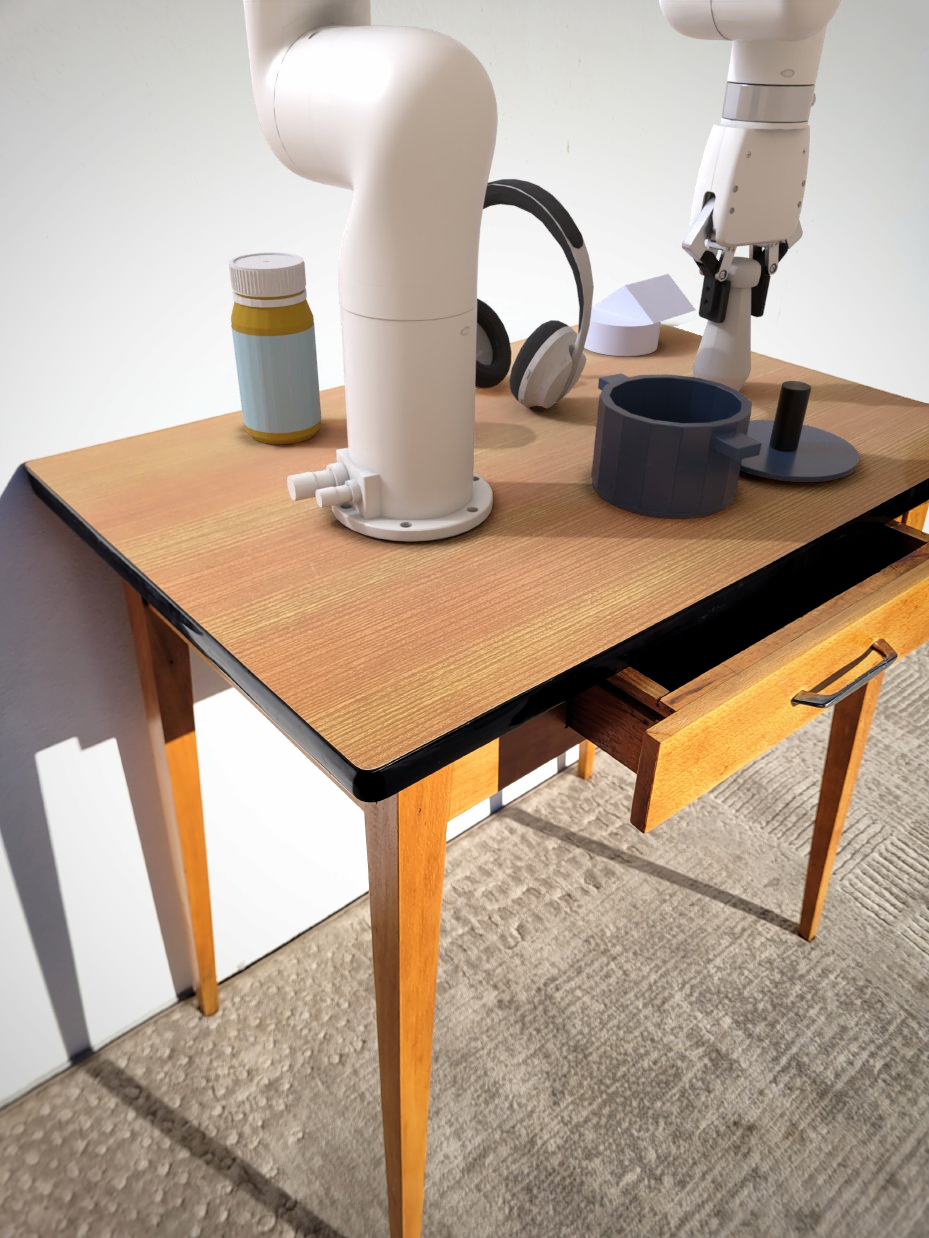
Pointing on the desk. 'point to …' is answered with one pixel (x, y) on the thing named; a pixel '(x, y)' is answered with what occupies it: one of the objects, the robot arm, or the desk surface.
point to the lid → (797, 443)
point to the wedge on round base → (635, 317)
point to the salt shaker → (730, 331)
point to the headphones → (553, 346)
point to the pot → (670, 444)
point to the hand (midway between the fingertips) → (730, 314)
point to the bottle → (275, 348)
